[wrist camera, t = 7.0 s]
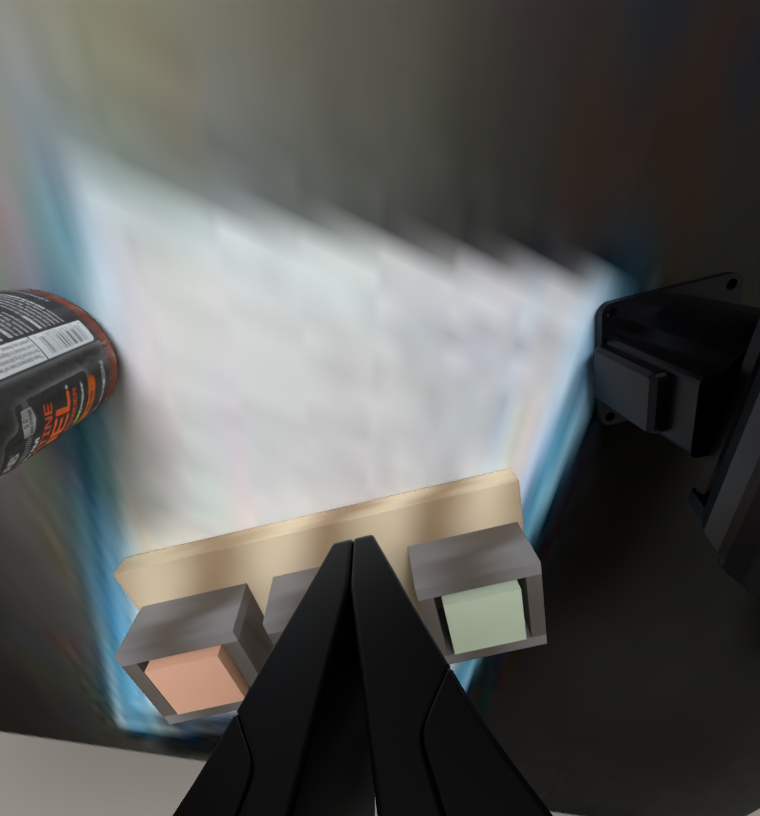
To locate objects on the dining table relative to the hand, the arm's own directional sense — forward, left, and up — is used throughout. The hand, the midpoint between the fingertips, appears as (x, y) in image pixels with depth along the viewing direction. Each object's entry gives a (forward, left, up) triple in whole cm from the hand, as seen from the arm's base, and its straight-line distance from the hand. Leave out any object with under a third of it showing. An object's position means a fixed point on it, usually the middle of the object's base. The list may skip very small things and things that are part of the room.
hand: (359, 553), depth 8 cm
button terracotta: (+13, +14, -10) cm, 21 cm away
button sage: (-4, +14, -10) cm, 18 cm away
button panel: (+5, +14, -12) cm, 19 cm away
